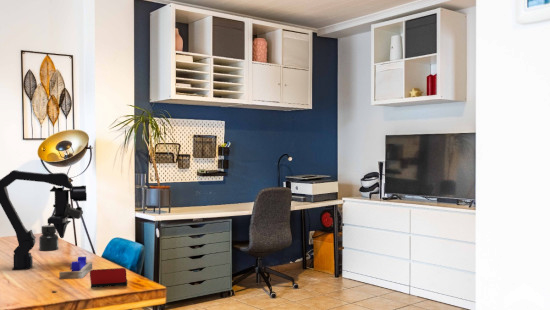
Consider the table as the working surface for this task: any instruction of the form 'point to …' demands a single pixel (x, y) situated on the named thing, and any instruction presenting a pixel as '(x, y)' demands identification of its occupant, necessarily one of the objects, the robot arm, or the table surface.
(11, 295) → the table surface
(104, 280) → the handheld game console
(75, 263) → the cable clip
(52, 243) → the ink bottle
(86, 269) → the slot rails
